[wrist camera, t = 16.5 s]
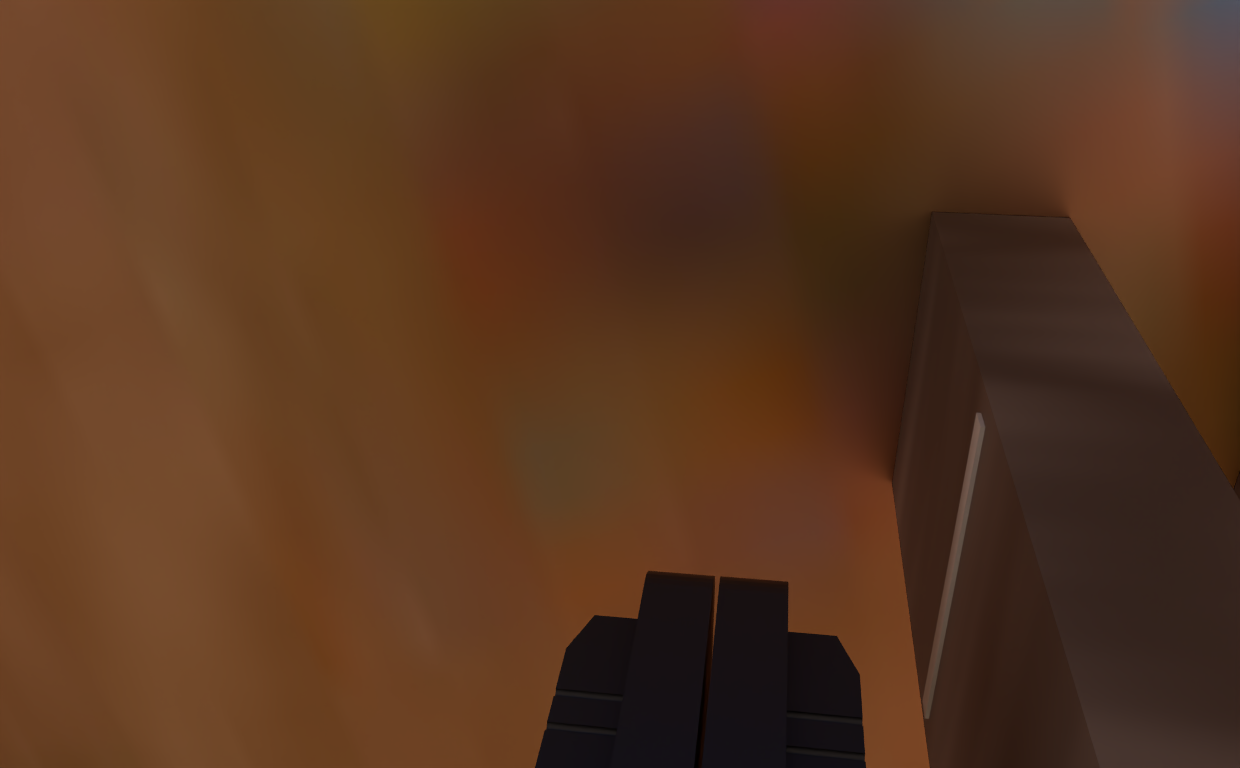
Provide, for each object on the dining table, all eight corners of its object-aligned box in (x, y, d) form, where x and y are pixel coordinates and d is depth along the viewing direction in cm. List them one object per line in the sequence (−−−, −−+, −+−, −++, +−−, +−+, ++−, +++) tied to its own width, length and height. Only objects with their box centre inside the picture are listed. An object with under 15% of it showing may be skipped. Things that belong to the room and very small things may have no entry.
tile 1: (888, 483, 19) (983, 1213, 9) (928, 212, 16) (1112, 833, 7) (1013, 492, 18) (1240, 1254, 9) (1074, 218, 16) (1473, 874, 7)
